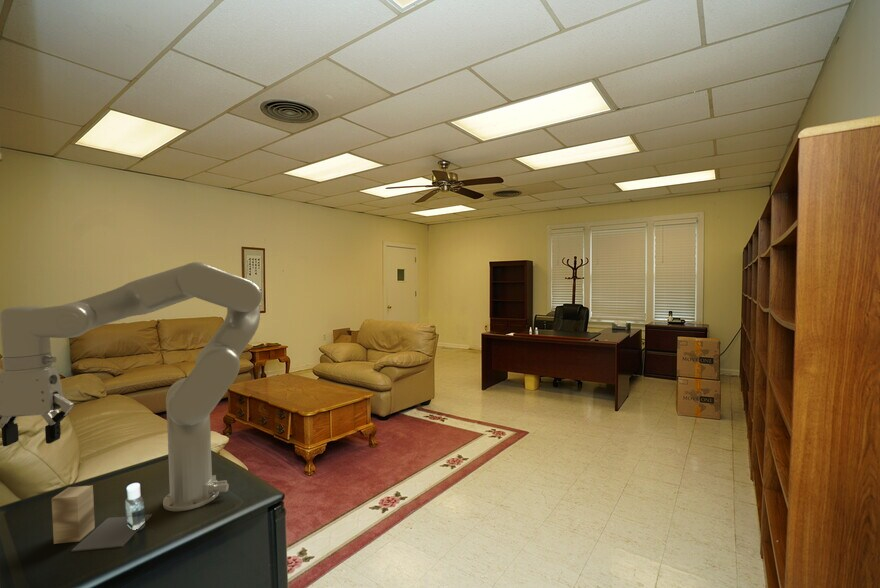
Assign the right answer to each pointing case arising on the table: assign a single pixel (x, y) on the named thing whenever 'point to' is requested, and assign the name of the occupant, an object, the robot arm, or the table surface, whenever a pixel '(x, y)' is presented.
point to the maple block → (73, 514)
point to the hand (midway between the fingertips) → (32, 442)
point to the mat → (108, 535)
